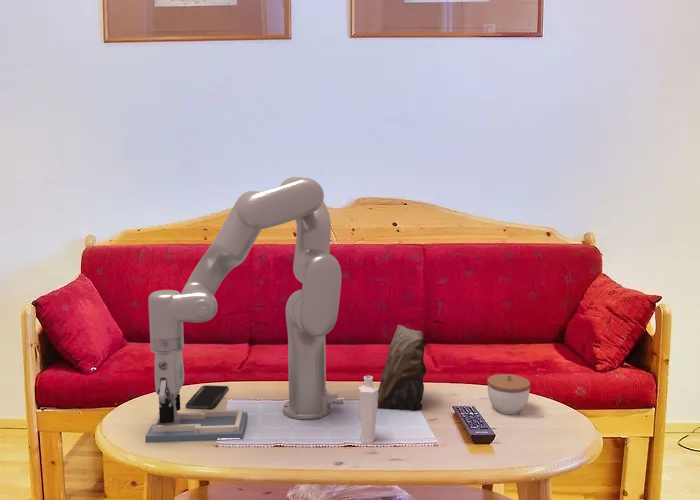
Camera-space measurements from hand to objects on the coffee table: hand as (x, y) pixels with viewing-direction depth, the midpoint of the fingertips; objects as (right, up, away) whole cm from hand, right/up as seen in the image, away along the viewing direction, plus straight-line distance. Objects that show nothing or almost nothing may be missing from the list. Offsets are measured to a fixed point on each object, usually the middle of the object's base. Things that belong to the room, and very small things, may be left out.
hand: (170, 415), depth 144 cm
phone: (+4, -1, +21) cm, 21 cm away
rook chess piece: (0, -2, 0) cm, 3 cm away
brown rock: (+56, -2, +17) cm, 58 cm away
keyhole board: (+7, -4, +1) cm, 8 cm away
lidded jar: (+84, -2, +13) cm, 85 cm away
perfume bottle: (+47, -5, -4) cm, 47 cm away
